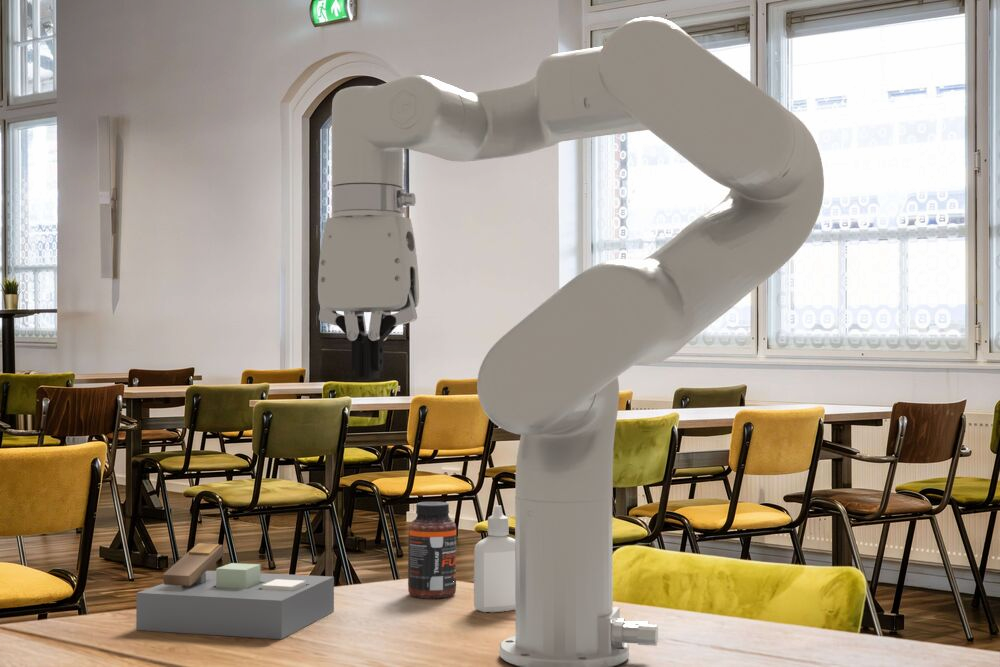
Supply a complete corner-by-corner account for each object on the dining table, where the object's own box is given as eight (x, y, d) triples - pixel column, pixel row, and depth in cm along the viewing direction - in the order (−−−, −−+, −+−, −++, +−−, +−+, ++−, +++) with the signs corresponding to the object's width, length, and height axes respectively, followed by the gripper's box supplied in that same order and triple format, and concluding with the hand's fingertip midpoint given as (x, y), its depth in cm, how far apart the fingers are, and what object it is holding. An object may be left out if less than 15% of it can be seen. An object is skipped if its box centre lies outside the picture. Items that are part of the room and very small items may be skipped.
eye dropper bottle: (522, 613, 139) (522, 508, 139) (473, 613, 139) (473, 508, 139) (522, 605, 144) (521, 503, 144) (474, 605, 144) (474, 503, 144)
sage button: (260, 592, 137) (260, 564, 137) (245, 599, 133) (245, 570, 133) (231, 591, 138) (231, 563, 138) (216, 597, 134) (216, 568, 134)
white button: (305, 609, 135) (305, 580, 136) (292, 616, 132) (292, 586, 132) (276, 607, 136) (276, 579, 136) (261, 614, 133) (261, 585, 133)
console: (333, 611, 140) (333, 567, 140) (281, 639, 127) (281, 591, 127) (200, 604, 145) (200, 561, 145) (136, 630, 131) (136, 583, 131)
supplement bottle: (449, 600, 146) (449, 506, 146) (402, 599, 147) (402, 505, 148) (461, 591, 152) (461, 500, 152) (415, 589, 153) (415, 499, 153)
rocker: (223, 554, 141) (222, 543, 140) (190, 585, 133) (188, 574, 133) (198, 553, 141) (197, 542, 141) (164, 584, 134) (162, 572, 134)
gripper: (445, 207, 131) (445, 378, 131) (316, 211, 135) (316, 377, 134) (423, 199, 124) (423, 379, 123) (287, 203, 127) (287, 379, 127)
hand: (367, 378), depth 129 cm, fingers closed
